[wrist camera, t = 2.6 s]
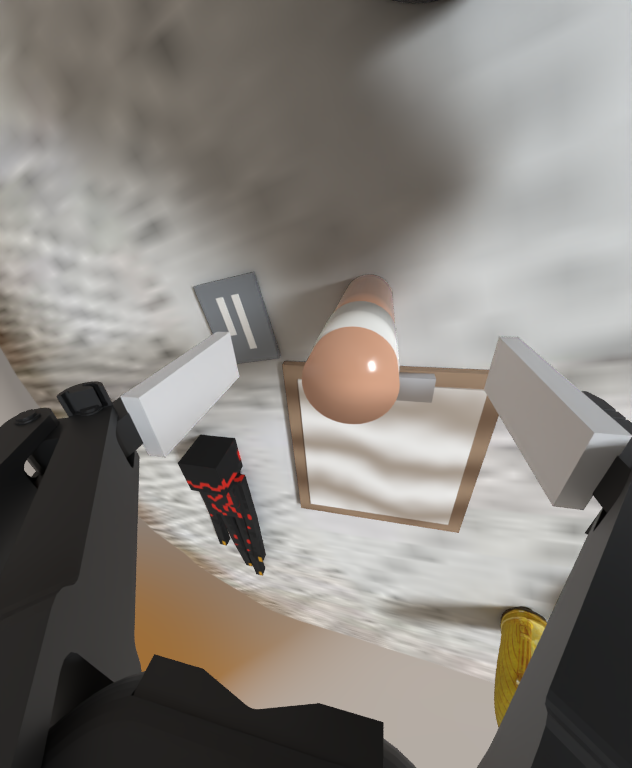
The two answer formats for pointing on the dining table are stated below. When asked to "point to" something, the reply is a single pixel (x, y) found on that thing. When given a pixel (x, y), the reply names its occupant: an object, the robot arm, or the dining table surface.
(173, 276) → the dining table surface
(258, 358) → the grey striped tile
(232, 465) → the toy
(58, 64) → the dining table surface
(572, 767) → the robot arm
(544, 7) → the dining table surface
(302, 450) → the clipboard
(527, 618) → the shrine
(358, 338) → the pastel stick
